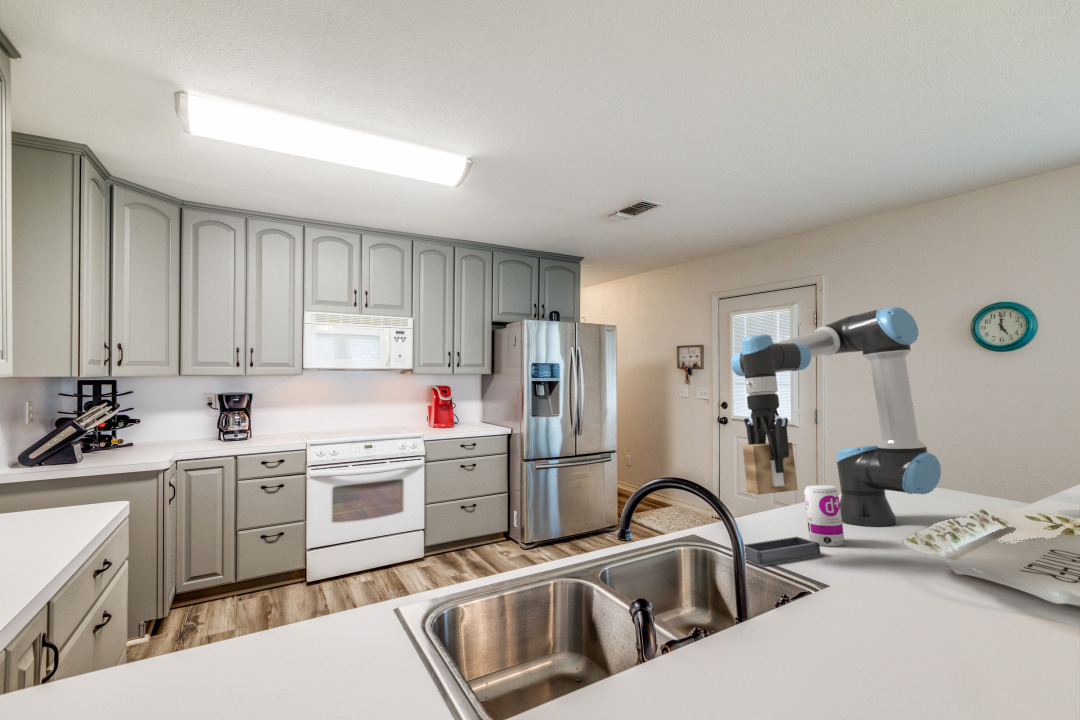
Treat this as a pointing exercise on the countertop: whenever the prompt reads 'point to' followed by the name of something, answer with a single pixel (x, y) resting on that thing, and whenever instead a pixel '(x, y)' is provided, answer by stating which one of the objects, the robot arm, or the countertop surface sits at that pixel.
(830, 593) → the countertop surface
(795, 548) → the track
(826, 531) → the supplement can
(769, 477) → the panel
